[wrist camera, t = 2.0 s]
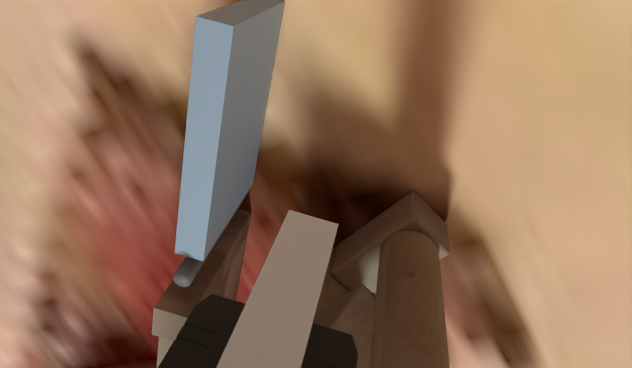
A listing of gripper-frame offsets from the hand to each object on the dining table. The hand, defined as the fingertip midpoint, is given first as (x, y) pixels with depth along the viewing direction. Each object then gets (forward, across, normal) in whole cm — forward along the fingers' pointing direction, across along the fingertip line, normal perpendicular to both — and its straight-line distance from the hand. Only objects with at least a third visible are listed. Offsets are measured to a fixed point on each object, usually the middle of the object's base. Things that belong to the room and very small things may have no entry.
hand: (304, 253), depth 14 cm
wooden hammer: (+17, +4, -11) cm, 20 cm away
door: (+17, -7, -2) cm, 18 cm away
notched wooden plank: (+17, -6, -16) cm, 24 cm away
